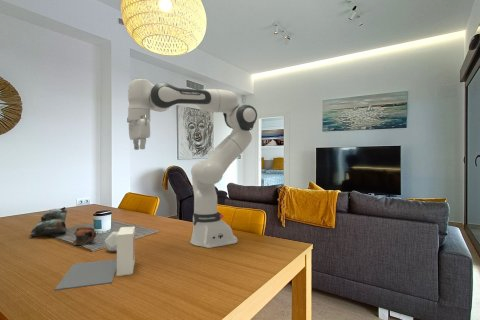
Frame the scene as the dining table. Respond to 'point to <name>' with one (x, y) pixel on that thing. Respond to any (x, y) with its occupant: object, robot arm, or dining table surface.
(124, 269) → the cream block
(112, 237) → the die
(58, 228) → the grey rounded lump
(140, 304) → the dining table surface
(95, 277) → the mat
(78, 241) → the pottery mug
